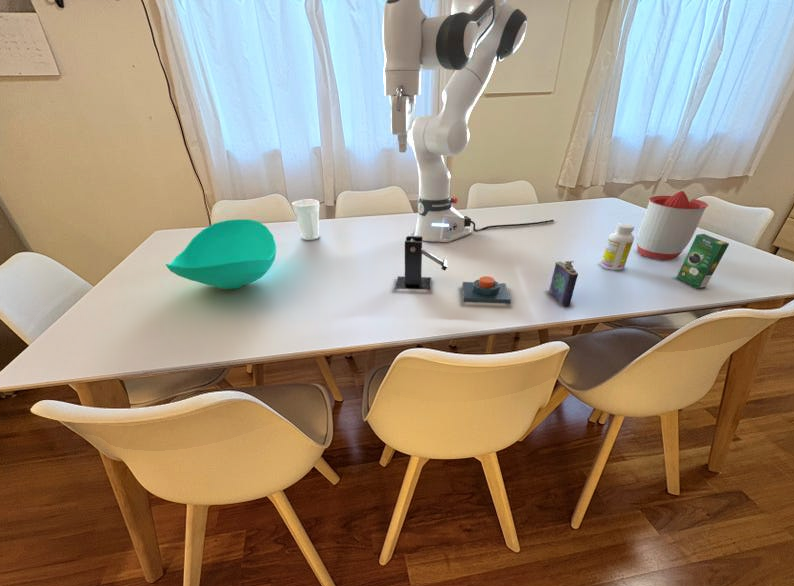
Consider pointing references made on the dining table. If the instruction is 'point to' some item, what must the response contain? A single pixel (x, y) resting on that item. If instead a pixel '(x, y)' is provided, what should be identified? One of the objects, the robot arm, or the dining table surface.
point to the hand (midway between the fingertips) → (403, 151)
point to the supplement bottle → (618, 247)
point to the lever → (434, 258)
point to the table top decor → (227, 254)
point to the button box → (485, 293)
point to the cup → (307, 217)
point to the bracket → (413, 266)
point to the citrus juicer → (669, 225)
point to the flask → (563, 282)
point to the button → (486, 282)
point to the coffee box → (702, 260)
